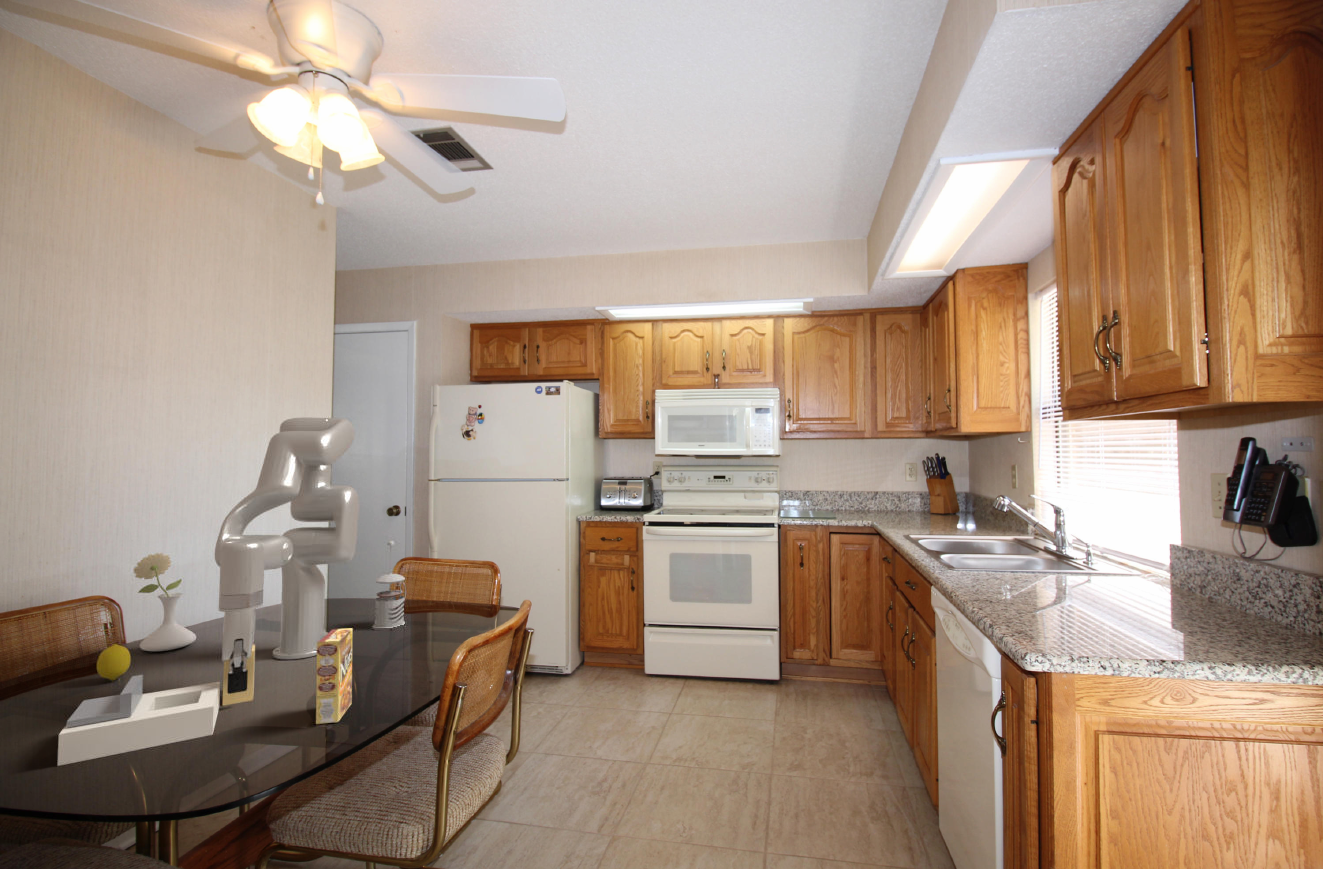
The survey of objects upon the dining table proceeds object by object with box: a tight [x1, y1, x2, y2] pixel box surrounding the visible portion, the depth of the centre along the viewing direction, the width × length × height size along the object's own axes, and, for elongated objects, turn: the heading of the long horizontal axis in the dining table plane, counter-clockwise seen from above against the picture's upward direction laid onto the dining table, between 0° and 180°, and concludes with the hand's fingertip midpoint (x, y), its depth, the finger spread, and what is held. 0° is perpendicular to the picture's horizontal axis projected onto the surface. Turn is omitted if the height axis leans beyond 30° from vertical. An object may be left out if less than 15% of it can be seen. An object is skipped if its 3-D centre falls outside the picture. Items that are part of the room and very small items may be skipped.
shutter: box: [66, 674, 144, 728], centre depth 104 cm, size 8×10×4 cm
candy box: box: [315, 627, 353, 725], centre depth 115 cm, size 9×4×15 cm, turn 13°
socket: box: [57, 681, 221, 767], centre depth 107 cm, size 20×14×5 cm
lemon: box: [96, 643, 131, 682], centre depth 132 cm, size 6×6×8 cm
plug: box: [222, 643, 256, 707], centre depth 122 cm, size 5×5×12 cm
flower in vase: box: [133, 552, 197, 652], centre depth 154 cm, size 13×11×25 cm
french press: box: [372, 540, 407, 628], centre depth 176 cm, size 10×12×25 cm
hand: (238, 684), depth 122 cm, fingers open, 9 cm apart
